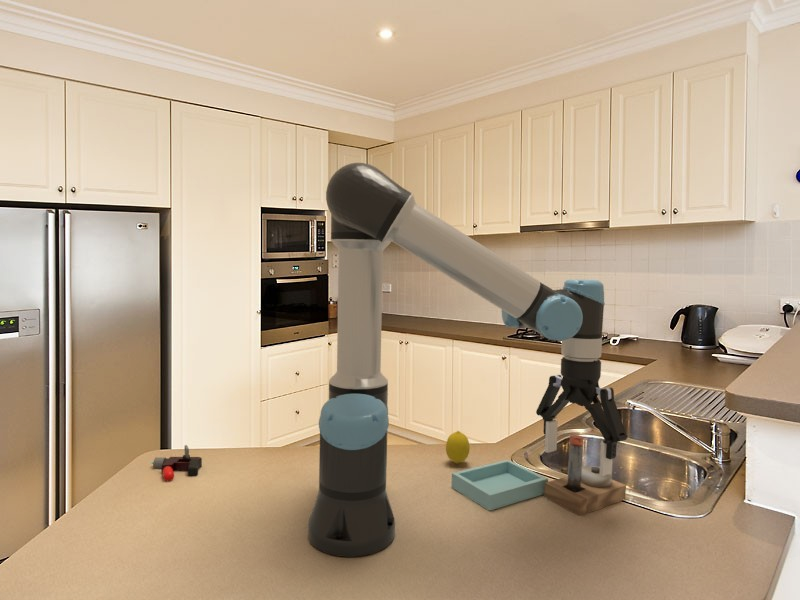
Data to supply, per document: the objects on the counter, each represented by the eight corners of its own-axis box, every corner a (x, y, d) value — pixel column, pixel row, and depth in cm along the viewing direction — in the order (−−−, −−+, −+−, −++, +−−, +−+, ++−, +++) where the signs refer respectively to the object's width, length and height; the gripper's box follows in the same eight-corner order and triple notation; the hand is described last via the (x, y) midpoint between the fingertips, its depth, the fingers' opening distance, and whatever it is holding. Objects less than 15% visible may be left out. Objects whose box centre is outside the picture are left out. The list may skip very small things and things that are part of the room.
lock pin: (573, 506, 106) (577, 440, 105) (563, 500, 108) (567, 436, 107) (582, 503, 108) (586, 438, 106) (572, 498, 110) (575, 434, 109)
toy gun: (153, 465, 122) (153, 444, 121) (206, 465, 122) (206, 445, 122) (134, 483, 112) (134, 461, 112) (192, 483, 113) (192, 461, 112)
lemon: (467, 469, 123) (469, 436, 122) (444, 467, 124) (445, 433, 123) (469, 460, 128) (470, 428, 128) (446, 458, 129) (447, 426, 129)
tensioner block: (579, 515, 102) (581, 486, 102) (544, 497, 110) (545, 469, 109) (625, 499, 110) (626, 472, 109) (588, 483, 117) (590, 457, 117)
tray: (489, 510, 103) (490, 495, 103) (451, 487, 113) (451, 473, 113) (547, 493, 112) (547, 478, 112) (507, 472, 122) (507, 459, 122)
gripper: (650, 367, 97) (644, 480, 99) (546, 346, 118) (542, 440, 120) (625, 371, 93) (619, 489, 95) (521, 349, 114) (518, 446, 116)
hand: (576, 462), depth 107 cm, fingers open, 13 cm apart
